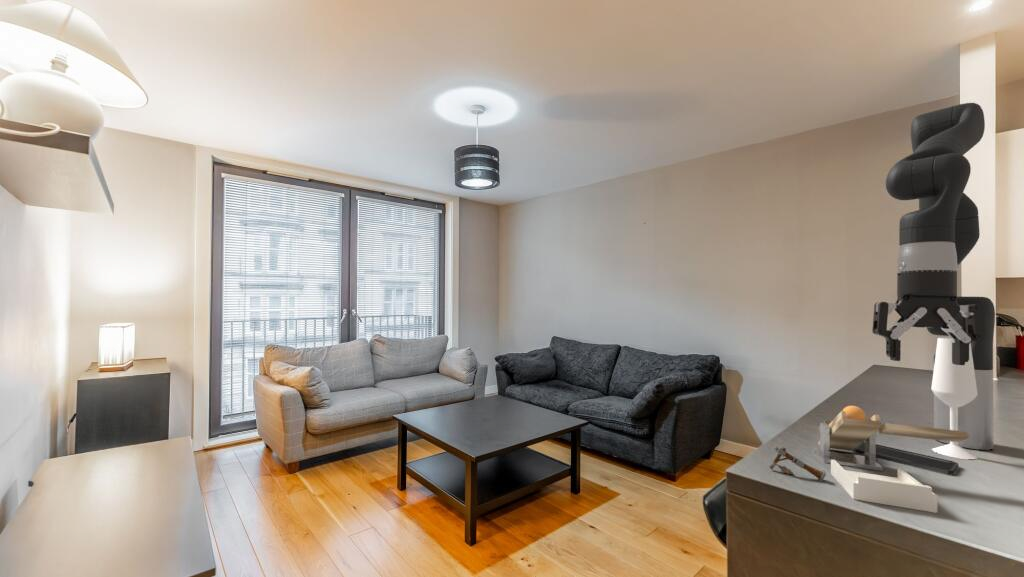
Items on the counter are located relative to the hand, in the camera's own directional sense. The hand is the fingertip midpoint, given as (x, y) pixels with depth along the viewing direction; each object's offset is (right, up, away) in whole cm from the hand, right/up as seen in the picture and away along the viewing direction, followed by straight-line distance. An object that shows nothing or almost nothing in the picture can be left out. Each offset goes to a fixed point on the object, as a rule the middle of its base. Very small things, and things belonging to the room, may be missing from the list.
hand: (925, 362), depth 73 cm
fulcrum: (-7, -21, +9) cm, 24 cm away
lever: (-2, -16, +6) cm, 17 cm away
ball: (-8, -11, +6) cm, 15 cm away
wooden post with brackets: (-22, -20, +1) cm, 30 cm away
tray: (-12, -20, -4) cm, 24 cm away
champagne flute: (+20, -22, +15) cm, 33 cm away
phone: (+6, -22, +11) cm, 25 cm away
